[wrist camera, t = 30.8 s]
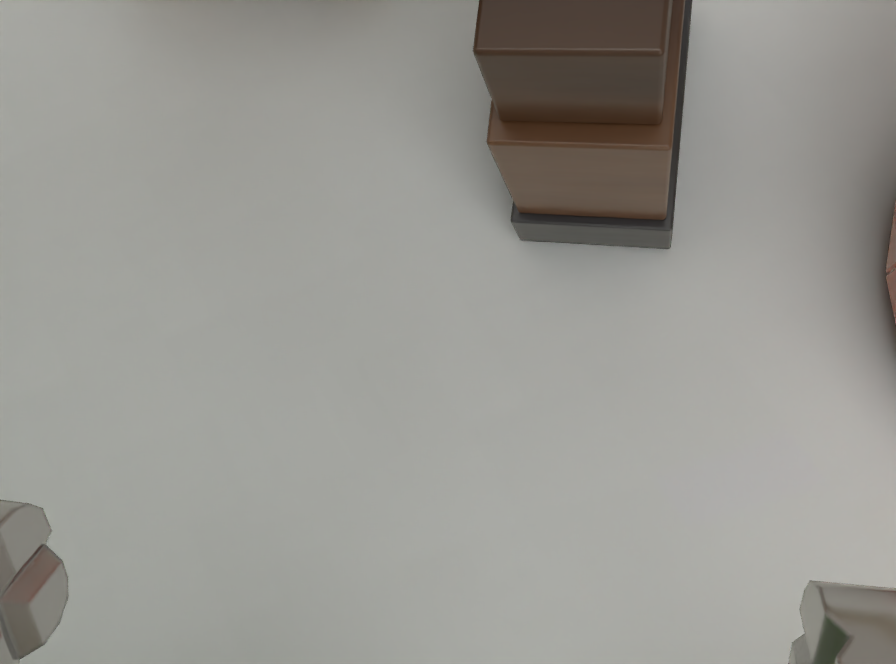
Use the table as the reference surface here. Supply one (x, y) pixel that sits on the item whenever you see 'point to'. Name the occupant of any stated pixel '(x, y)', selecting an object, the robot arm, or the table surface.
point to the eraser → (586, 114)
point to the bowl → (892, 265)
